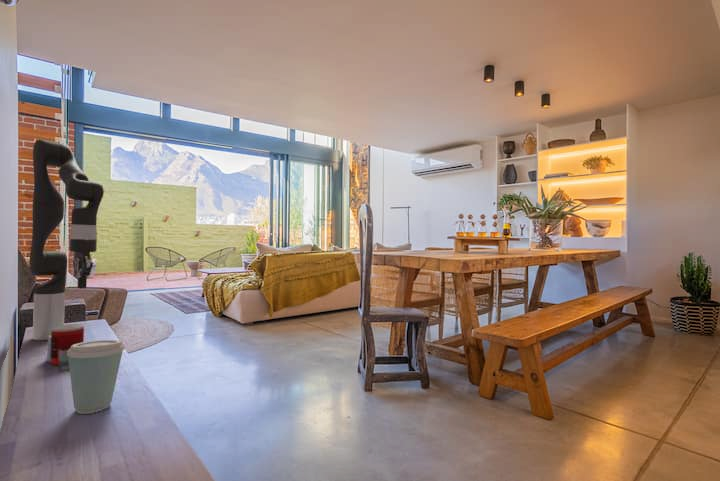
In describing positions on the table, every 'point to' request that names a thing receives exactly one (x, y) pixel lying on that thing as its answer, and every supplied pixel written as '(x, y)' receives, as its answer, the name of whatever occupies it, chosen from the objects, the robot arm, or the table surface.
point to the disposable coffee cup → (94, 373)
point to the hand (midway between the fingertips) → (81, 288)
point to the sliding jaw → (49, 349)
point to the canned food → (65, 339)
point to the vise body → (63, 360)
